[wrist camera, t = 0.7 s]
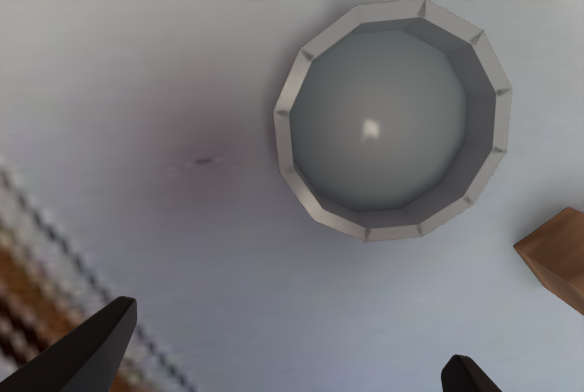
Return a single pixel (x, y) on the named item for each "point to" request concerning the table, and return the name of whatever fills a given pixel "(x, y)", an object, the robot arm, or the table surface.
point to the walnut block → (558, 256)
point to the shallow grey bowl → (392, 120)
